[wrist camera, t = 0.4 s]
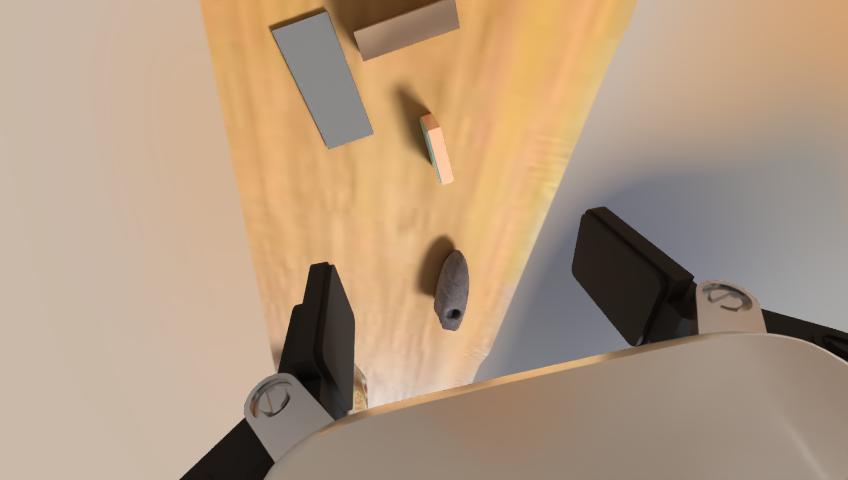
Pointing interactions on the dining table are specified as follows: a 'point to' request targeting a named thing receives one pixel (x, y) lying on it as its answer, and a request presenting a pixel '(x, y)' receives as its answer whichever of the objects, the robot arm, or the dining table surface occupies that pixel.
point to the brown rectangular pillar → (407, 28)
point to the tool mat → (324, 79)
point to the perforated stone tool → (452, 291)
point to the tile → (436, 148)
